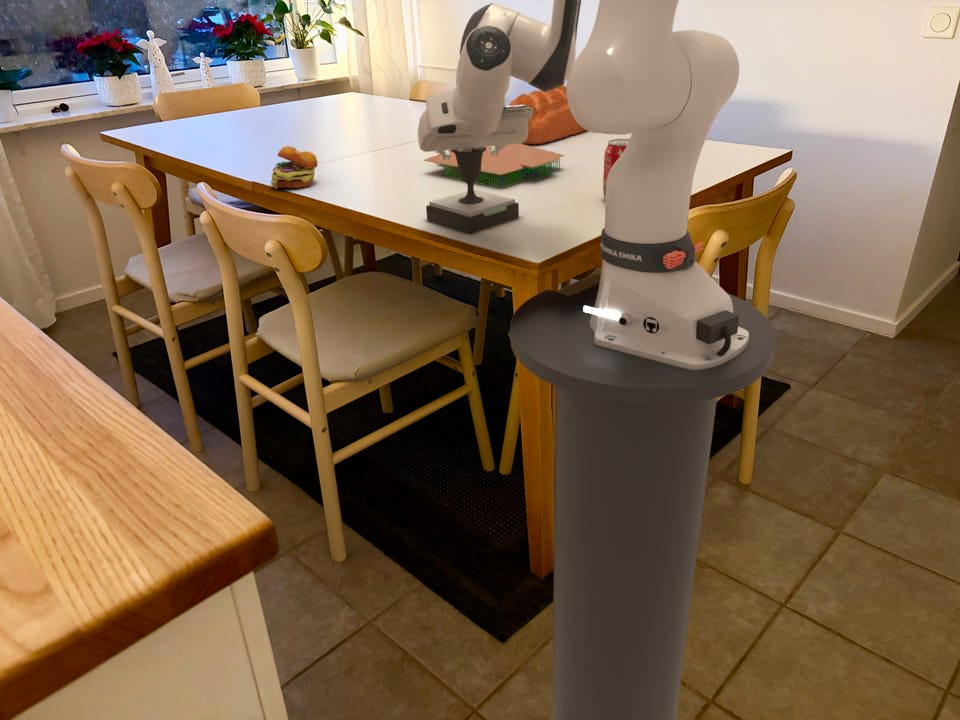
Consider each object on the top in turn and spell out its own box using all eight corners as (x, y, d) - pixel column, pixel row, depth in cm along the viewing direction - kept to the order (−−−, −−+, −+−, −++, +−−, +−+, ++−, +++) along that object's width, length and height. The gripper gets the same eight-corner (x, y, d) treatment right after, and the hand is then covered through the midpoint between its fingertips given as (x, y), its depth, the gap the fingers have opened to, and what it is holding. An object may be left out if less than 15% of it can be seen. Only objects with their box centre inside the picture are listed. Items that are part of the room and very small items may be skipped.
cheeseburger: (263, 184, 178) (265, 142, 175) (304, 187, 184) (307, 146, 181) (279, 192, 170) (282, 147, 167) (322, 194, 177) (325, 152, 173)
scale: (519, 218, 146) (519, 199, 145) (471, 234, 139) (470, 214, 137) (474, 206, 155) (473, 188, 153) (426, 220, 147) (425, 201, 146)
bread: (494, 141, 212) (493, 93, 206) (557, 123, 233) (558, 79, 227) (538, 147, 203) (538, 97, 197) (599, 127, 224) (601, 82, 218)
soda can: (643, 198, 155) (647, 140, 149) (624, 206, 150) (627, 146, 145) (615, 193, 159) (617, 136, 154) (595, 201, 155) (597, 142, 149)
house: (510, 191, 164) (510, 153, 160) (412, 171, 185) (409, 137, 181) (573, 170, 179) (574, 135, 175) (475, 153, 199) (474, 122, 195)
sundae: (495, 199, 145) (492, 120, 138) (470, 207, 141) (466, 126, 134) (472, 194, 149) (468, 117, 142) (447, 201, 145) (442, 122, 138)
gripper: (531, 90, 131) (518, 136, 144) (417, 98, 128) (415, 145, 141) (538, 120, 129) (525, 164, 142) (423, 129, 126) (420, 173, 139)
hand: (469, 154), depth 142 cm, fingers open, 8 cm apart
